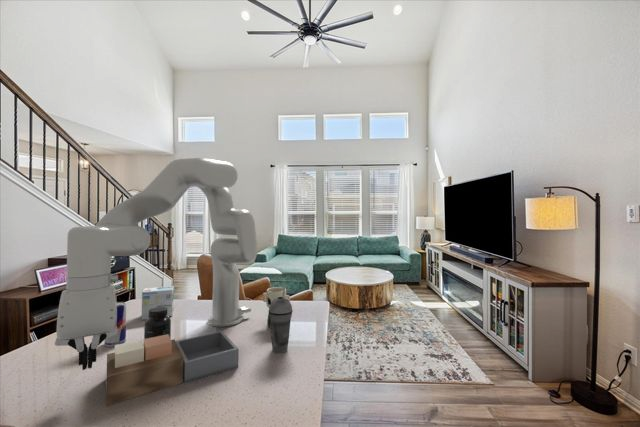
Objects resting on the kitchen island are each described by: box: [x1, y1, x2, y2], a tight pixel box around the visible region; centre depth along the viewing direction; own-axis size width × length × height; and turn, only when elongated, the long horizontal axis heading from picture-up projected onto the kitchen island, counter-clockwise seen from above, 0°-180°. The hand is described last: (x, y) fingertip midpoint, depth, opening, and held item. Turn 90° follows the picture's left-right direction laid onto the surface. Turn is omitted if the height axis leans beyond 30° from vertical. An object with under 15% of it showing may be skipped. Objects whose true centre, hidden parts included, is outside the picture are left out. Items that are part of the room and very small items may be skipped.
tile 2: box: [142, 334, 172, 361], centre depth 71 cm, size 6×6×3 cm
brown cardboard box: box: [105, 339, 184, 407], centre depth 69 cm, size 15×12×6 cm
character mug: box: [262, 286, 291, 327], centre depth 106 cm, size 11×7×13 cm, turn 74°
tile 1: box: [114, 339, 144, 368], centre depth 67 cm, size 6×6×3 cm
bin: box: [175, 330, 239, 385], centre depth 77 cm, size 13×14×5 cm
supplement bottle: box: [143, 307, 172, 340], centre depth 85 cm, size 7×7×12 cm
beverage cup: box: [268, 282, 294, 354], centre depth 86 cm, size 7×7×20 cm
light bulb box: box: [141, 285, 175, 321], centre depth 113 cm, size 11×7×11 cm, turn 114°
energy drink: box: [103, 301, 127, 348], centre depth 88 cm, size 5×5×12 cm
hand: (87, 366), depth 63 cm, fingers closed
